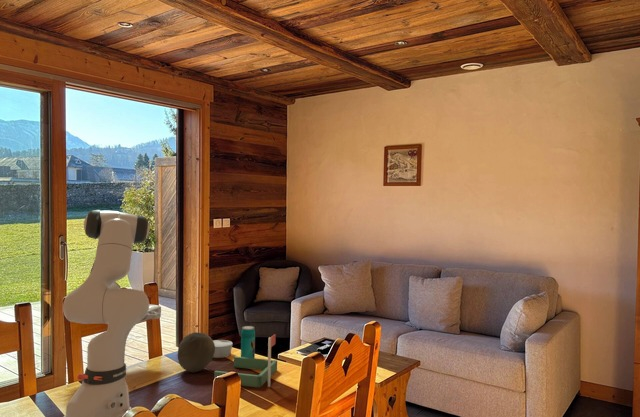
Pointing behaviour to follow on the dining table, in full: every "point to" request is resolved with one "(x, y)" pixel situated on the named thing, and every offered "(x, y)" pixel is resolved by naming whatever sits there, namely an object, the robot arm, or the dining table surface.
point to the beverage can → (248, 342)
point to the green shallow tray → (253, 363)
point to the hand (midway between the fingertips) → (158, 316)
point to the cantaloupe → (195, 351)
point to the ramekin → (222, 348)
